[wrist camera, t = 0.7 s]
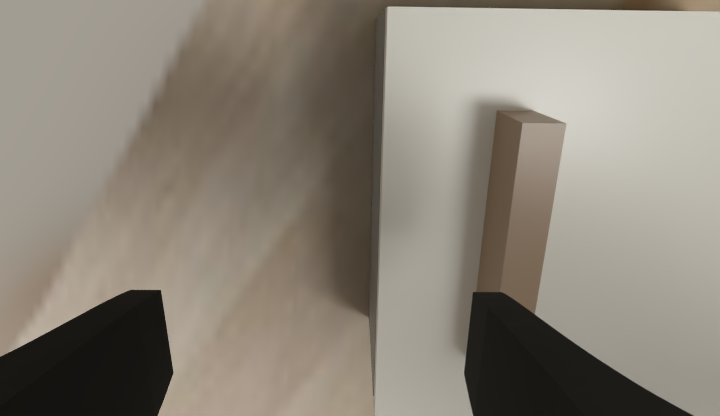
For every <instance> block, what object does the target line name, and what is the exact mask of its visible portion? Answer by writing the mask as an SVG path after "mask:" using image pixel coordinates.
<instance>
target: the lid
mask: <svg viewBox="0 0 720 416" xmlns="http://www.w3.org/2000/svg"><path fill="white" fill-rule="evenodd" d="M473 292H503V293H505V294H506V295H508V296H510V297H511V298H513V299H514V300H515V301H517V302H518V303H520V304H521V305H523V306H524V307H525V308H527V309H528V310H529V311H531V312H532V313H534V314H535V315H536V316H538V317H539V318H540V319H542V320H543V321H544V322H546V323H547V324H549V325H550V326H551V327H553V328H554V329H556V330H557V331H558V332H560V333H561V334H562V335H564V336H565V337H567V338H568V339H570V340H571V341H572V342H574V343H575V344H577V345H578V346H580V347H581V348H582V349H584V350H585V351H587V352H588V353H590V354H591V355H593V356H594V357H596V358H597V359H599V360H600V361H602V362H603V363H605V364H607V365H608V366H610V367H611V368H613V369H614V370H616V371H618V372H619V373H621V374H622V375H624V376H625V377H627V378H629V379H630V380H632V381H633V382H635V383H637V384H638V385H640V386H642V387H643V388H645V389H647V390H648V391H650V392H652V393H653V394H655V395H657V396H659V397H661V398H662V399H664V400H666V401H668V402H670V403H671V404H673V405H675V406H677V407H679V408H681V409H682V410H684V411H686V412H688V413H690V414H692V415H693V416H720V12H701V11H638V10H576V9H513V8H450V7H387V8H386V10H385V43H384V76H383V109H382V143H381V176H380V209H379V242H378V276H377V309H376V342H375V376H374V416H473V413H472V409H471V404H470V400H469V395H468V391H467V386H466V381H465V376H464V368H465V359H466V350H467V341H468V332H469V323H470V314H471V305H472V296H473Z"/></svg>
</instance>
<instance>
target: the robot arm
mask: <svg viewBox="0 0 720 416" xmlns="http://www.w3.org/2000/svg"><path fill="white" fill-rule="evenodd" d="M172 375H173V367H172V361H171V354H170V348H169V341H168V334H167V328H166V321H165V315H164V308H163V301H162V295H161V290H130V291H127V292H125V293H122V294H120V295H118V296H116V297H114V298H112V299H110V300H108V301H106V302H104V303H102V304H100V305H98V306H96V307H94V308H92V309H90V310H89V311H87V312H85V313H83V314H81V315H79V316H77V317H76V318H74V319H72V320H70V321H68V322H66V323H64V324H63V325H61V326H59V327H57V328H55V329H53V330H51V331H50V332H48V333H46V334H44V335H42V336H40V337H38V338H37V339H35V340H33V341H31V342H29V343H27V344H25V345H23V346H21V347H19V348H17V349H15V350H13V351H11V352H9V353H7V354H5V355H3V356H1V357H0V416H158V413H159V410H160V408H161V405H162V403H163V400H164V398H165V395H166V392H167V389H168V386H169V384H170V381H171V378H172ZM464 376H465V381H466V386H467V391H468V395H469V400H470V404H471V409H472V413H473V416H693V415H692V414H690V413H688V412H686V411H684V410H682V409H681V408H679V407H677V406H675V405H673V404H671V403H670V402H668V401H666V400H664V399H662V398H661V397H659V396H657V395H655V394H653V393H652V392H650V391H648V390H647V389H645V388H643V387H642V386H640V385H638V384H637V383H635V382H633V381H632V380H630V379H629V378H627V377H625V376H624V375H622V374H621V373H619V372H618V371H616V370H614V369H613V368H611V367H610V366H608V365H607V364H605V363H603V362H602V361H600V360H599V359H597V358H596V357H594V356H593V355H591V354H590V353H588V352H587V351H585V350H584V349H582V348H581V347H580V346H578V345H577V344H575V343H574V342H572V341H571V340H570V339H568V338H567V337H565V336H564V335H562V334H561V333H560V332H558V331H557V330H556V329H554V328H553V327H551V326H550V325H549V324H547V323H546V322H544V321H543V320H542V319H540V318H539V317H538V316H536V315H535V314H534V313H532V312H531V311H529V310H528V309H527V308H525V307H524V306H523V305H521V304H520V303H518V302H517V301H515V300H514V299H513V298H511V297H510V296H508V295H506V294H505V293H503V292H473V296H472V305H471V314H470V323H469V332H468V341H467V350H466V359H465V368H464Z"/></svg>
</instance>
